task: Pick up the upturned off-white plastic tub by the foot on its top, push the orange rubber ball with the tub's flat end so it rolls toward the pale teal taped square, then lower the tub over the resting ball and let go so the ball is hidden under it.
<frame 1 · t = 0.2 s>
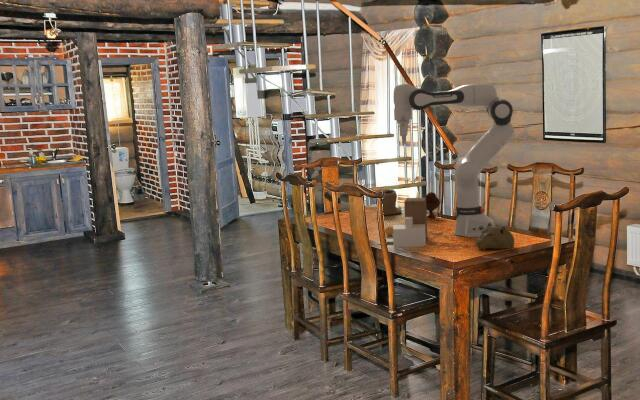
hand: (404, 143, 352), 47 cm above the table, tool pointing down, fingers open, 8 cm apart
mark: (388, 241, 348), on the table
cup: (409, 244, 339), on the table
stone cup: (390, 214, 418), on the table
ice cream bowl: (431, 217, 401), on the table
bear head: (493, 248, 322), on the table
curb: (387, 244, 342), on the table
ball: (389, 230, 360), on the table
wooden block: (416, 238, 351), on the table
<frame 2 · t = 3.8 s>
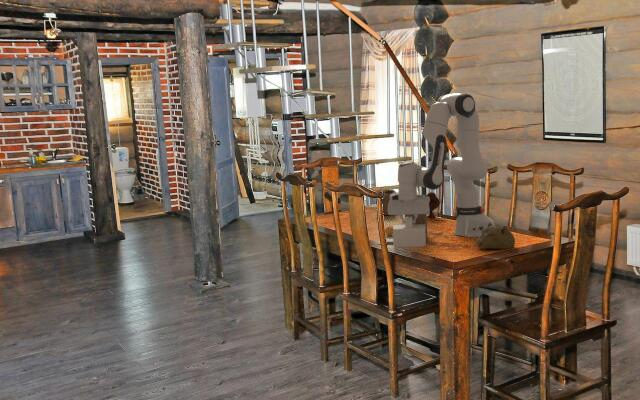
hand: (409, 223, 337), 10 cm above the table, tool pointing down, fingers closed on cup, 3 cm apart
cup: (409, 244, 339), on the table, touching gripper
everything else where it was.
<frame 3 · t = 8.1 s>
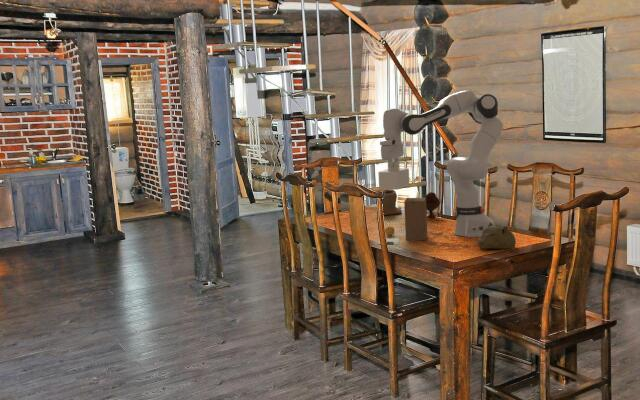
hand: (393, 167, 358), 35 cm above the table, tool pointing down, fingers closed on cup, 3 cm apart
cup: (394, 187, 360), point 25 cm above the table, touching gripper
when the fingers open (12 cm above the table, at t = 12.4 s): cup moves 2 cm, resting on ball.
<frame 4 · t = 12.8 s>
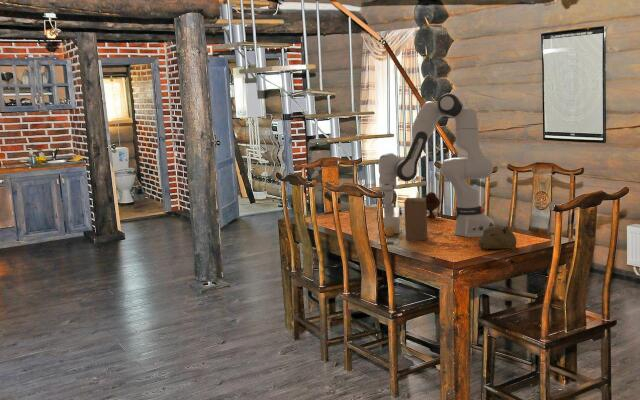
hand: (388, 210, 364), 12 cm above the table, tool pointing down, fingers open, 6 cm apart
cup: (389, 228, 368), point 2 cm above the table, tilted 9°, touching ball, gripper
ball: (389, 231, 358), on the table, touching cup
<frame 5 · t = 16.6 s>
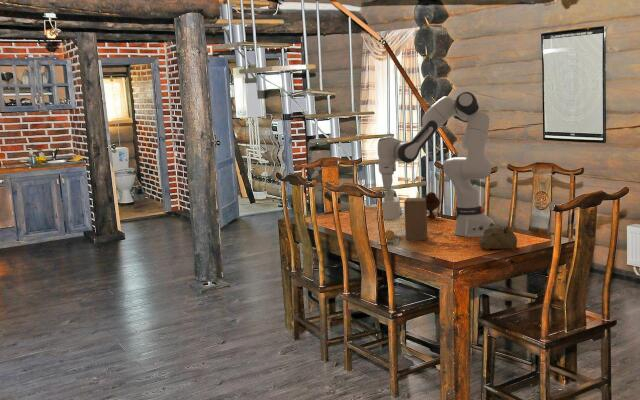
hand: (388, 194, 361), 21 cm above the table, tool pointing down, fingers closed on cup, 3 cm apart
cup: (390, 216, 363), point 9 cm above the table, touching gripper
ball: (389, 234, 351), on the table
when the fingers open (11 cm above the table, at t = 24.2 s): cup stays where it is, on the table.
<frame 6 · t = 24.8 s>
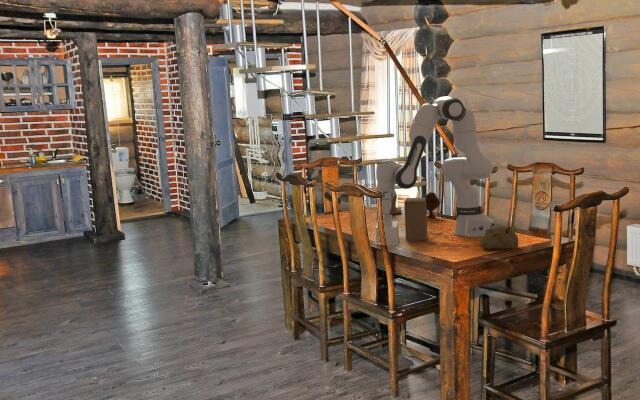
hand: (387, 220, 346), 11 cm above the table, tool pointing down, fingers open, 8 cm apart
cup: (387, 241, 347), on the table
ball: (389, 238, 344), on the table
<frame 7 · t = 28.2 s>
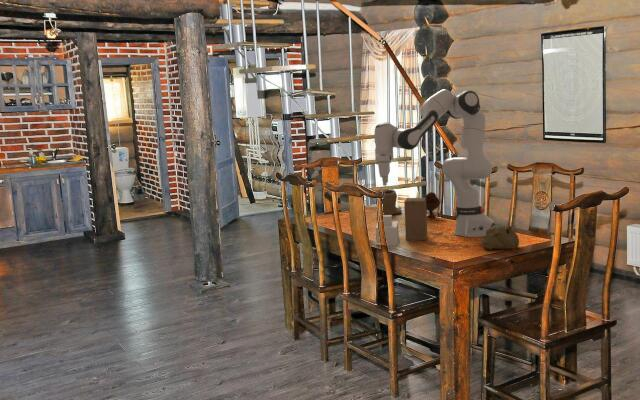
hand: (385, 184, 343), 29 cm above the table, tool pointing down, fingers open, 8 cm apart
at the end: ball 3.2 cm from the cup (horizontally); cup on the table; ball moved 16.9 cm from its start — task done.
